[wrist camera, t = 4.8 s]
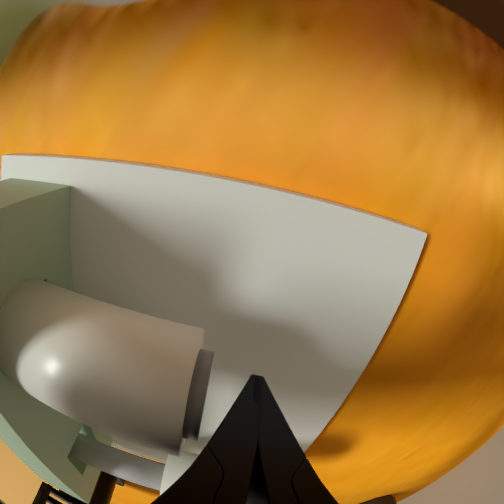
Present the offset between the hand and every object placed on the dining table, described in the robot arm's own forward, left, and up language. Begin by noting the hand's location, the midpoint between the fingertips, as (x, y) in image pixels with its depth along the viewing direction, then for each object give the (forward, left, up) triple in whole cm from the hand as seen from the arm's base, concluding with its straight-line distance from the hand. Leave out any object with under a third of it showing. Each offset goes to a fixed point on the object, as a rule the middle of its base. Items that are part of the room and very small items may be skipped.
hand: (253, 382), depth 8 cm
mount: (-4, +5, -3) cm, 7 cm away
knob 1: (0, +8, -1) cm, 8 cm away
